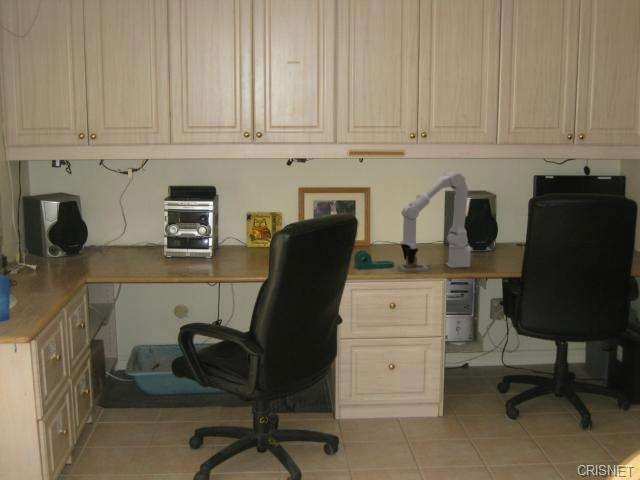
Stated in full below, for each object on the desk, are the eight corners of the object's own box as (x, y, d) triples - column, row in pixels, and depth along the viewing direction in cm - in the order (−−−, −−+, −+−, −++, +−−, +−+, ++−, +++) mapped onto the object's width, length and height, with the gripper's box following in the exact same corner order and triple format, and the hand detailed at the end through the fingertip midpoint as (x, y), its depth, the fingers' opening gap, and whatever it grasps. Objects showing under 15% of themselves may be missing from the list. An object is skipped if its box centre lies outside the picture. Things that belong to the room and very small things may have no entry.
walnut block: (414, 268, 320) (414, 255, 319) (416, 270, 316) (417, 257, 315) (406, 268, 320) (406, 255, 319) (408, 270, 316) (408, 257, 315)
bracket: (357, 269, 318) (357, 252, 317) (354, 266, 325) (354, 250, 324) (395, 268, 321) (395, 251, 320) (391, 265, 328) (392, 248, 326)
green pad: (428, 263, 330) (428, 262, 330) (431, 266, 324) (431, 265, 324) (416, 263, 329) (416, 262, 329) (419, 266, 323) (419, 265, 323)
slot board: (423, 266, 323) (423, 264, 323) (428, 271, 314) (429, 268, 314) (398, 267, 322) (398, 264, 322) (402, 271, 313) (403, 269, 313)
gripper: (397, 229, 321) (396, 258, 324) (404, 235, 307) (403, 265, 310) (412, 229, 322) (411, 257, 325) (420, 234, 308) (419, 264, 310)
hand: (408, 261), depth 317 cm, fingers open, 7 cm apart
